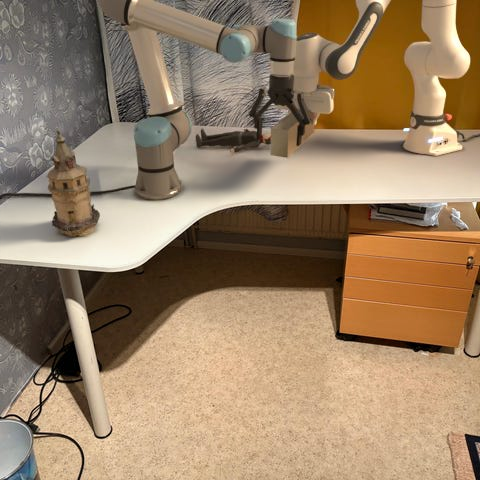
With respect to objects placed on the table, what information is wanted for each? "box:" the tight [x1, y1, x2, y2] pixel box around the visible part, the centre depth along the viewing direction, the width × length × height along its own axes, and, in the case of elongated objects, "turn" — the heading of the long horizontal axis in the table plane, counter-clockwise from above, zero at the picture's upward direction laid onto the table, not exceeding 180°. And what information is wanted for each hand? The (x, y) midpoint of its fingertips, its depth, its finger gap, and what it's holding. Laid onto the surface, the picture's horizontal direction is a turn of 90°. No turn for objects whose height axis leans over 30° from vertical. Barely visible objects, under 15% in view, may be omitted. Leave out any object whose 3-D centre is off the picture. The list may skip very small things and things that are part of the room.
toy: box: [195, 127, 271, 155], centre depth 214 cm, size 26×6×30 cm
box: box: [270, 110, 316, 159], centre depth 182 cm, size 27×6×9 cm, turn 155°
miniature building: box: [46, 129, 101, 237], centre depth 148 cm, size 13×14×30 cm
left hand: (278, 141), depth 172 cm, fingers open, 13 cm apart
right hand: (303, 123), depth 191 cm, fingers closed on box, 6 cm apart
